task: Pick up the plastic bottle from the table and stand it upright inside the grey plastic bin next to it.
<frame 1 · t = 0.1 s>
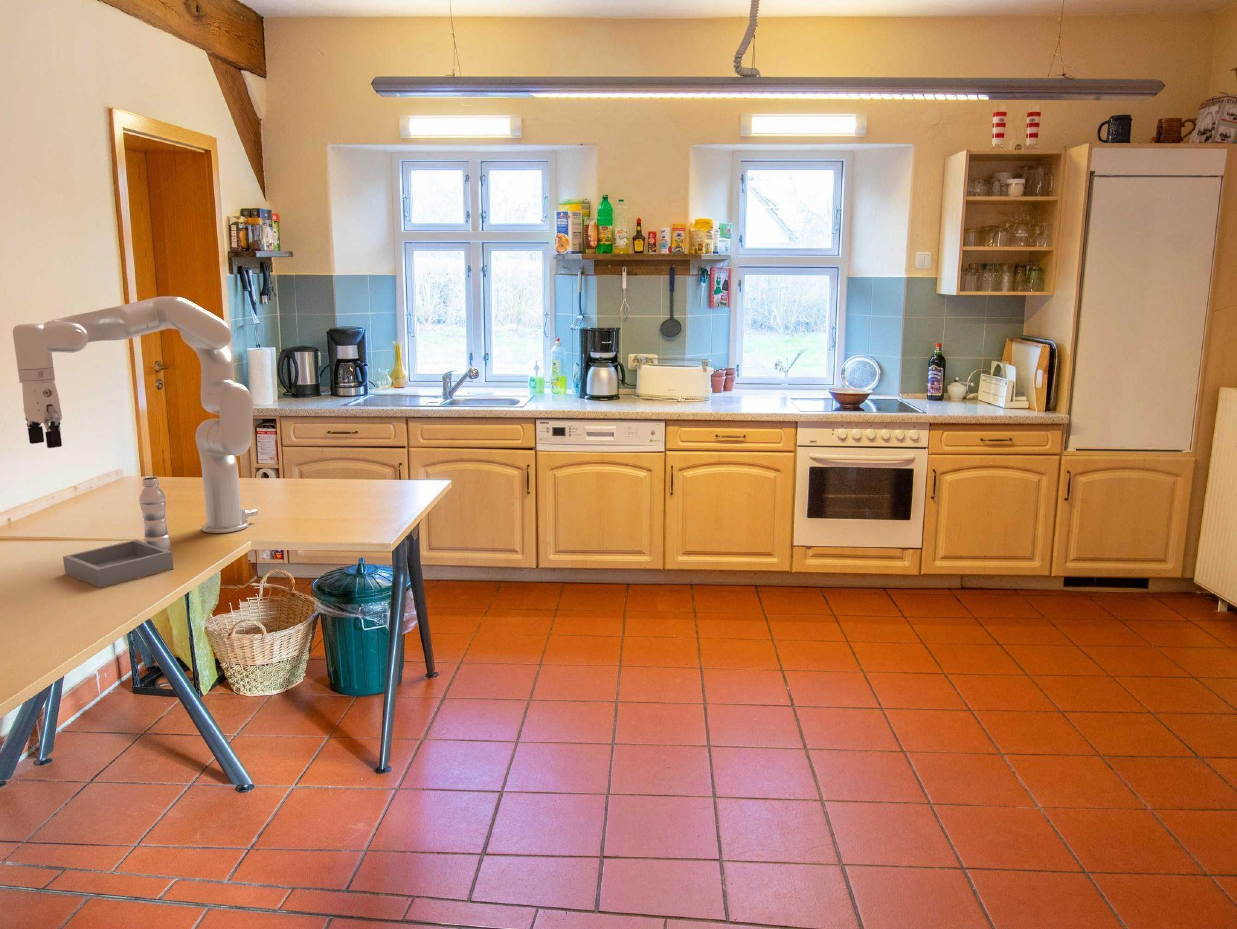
hand: (45, 445, 239), 31 cm above the table, tool pointing down, fingers open, 9 cm apart
bin: (119, 571, 241), on the table
plastic bottle: (158, 553, 257), on the table
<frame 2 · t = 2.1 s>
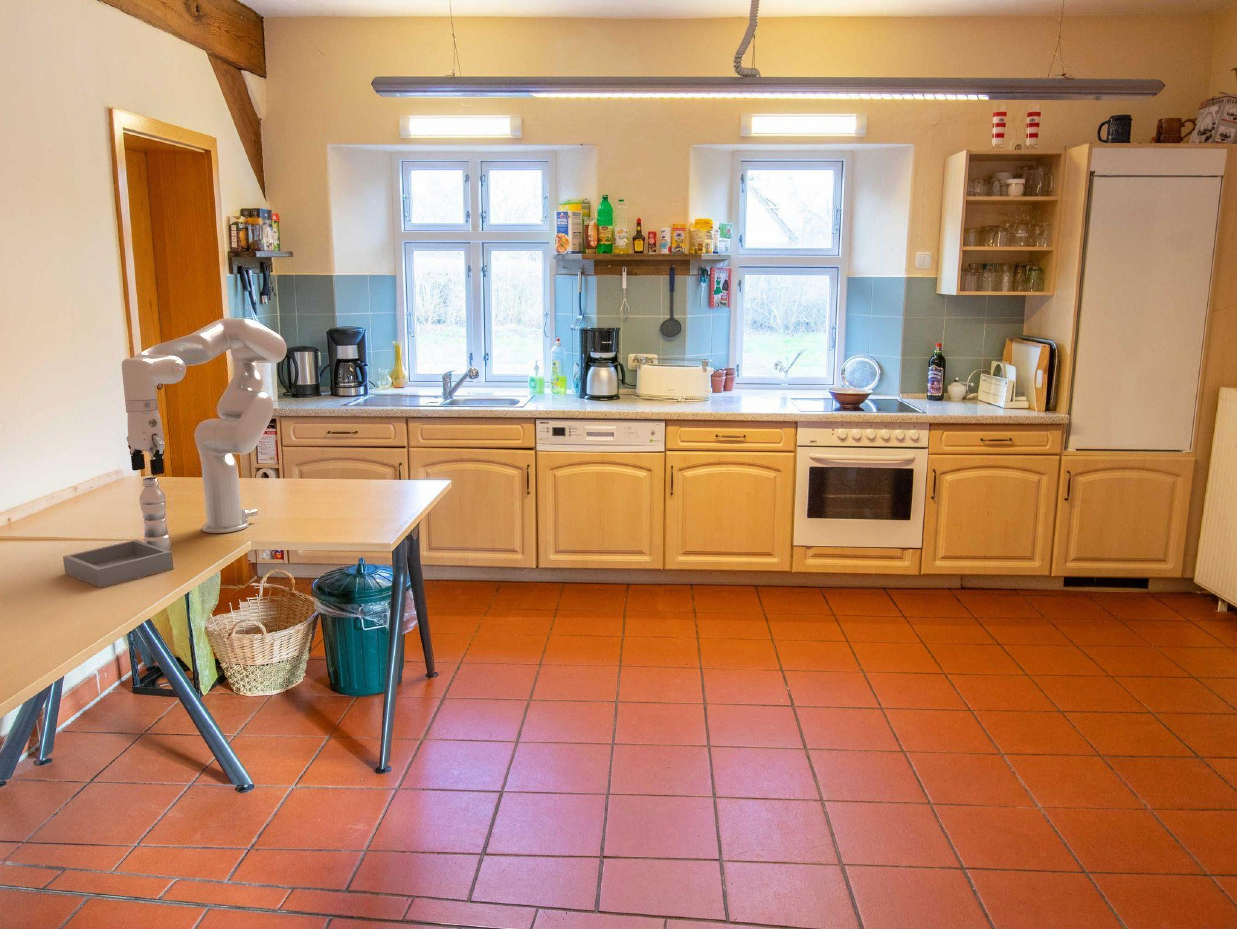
hand: (148, 471, 252), 22 cm above the table, tool pointing down, fingers open, 9 cm apart
nothing on the table moved.
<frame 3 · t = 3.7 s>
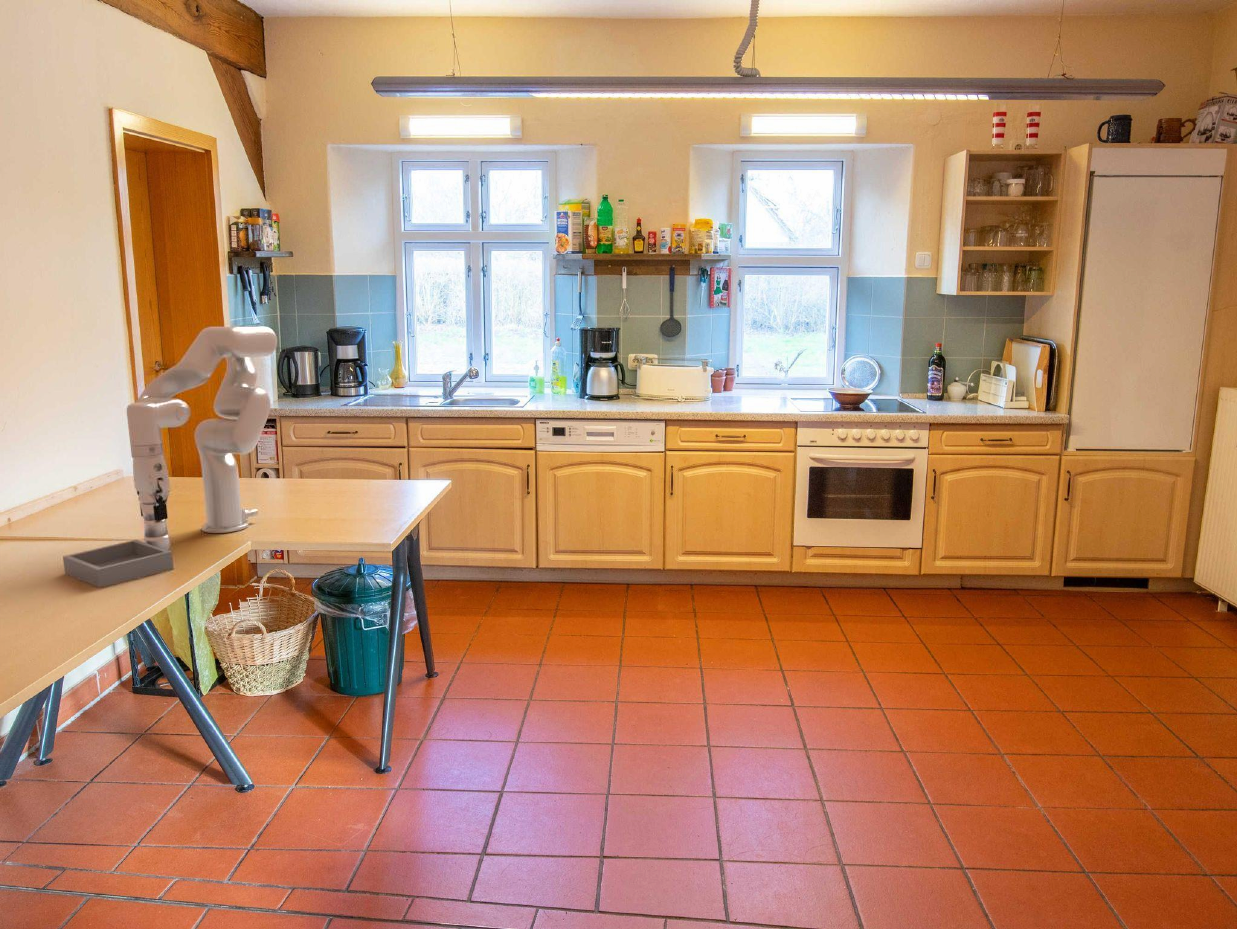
hand: (154, 517, 255), 10 cm above the table, tool pointing down, fingers closed on plastic bottle, 6 cm apart
plastic bottle: (158, 553, 257), on the table, touching gripper
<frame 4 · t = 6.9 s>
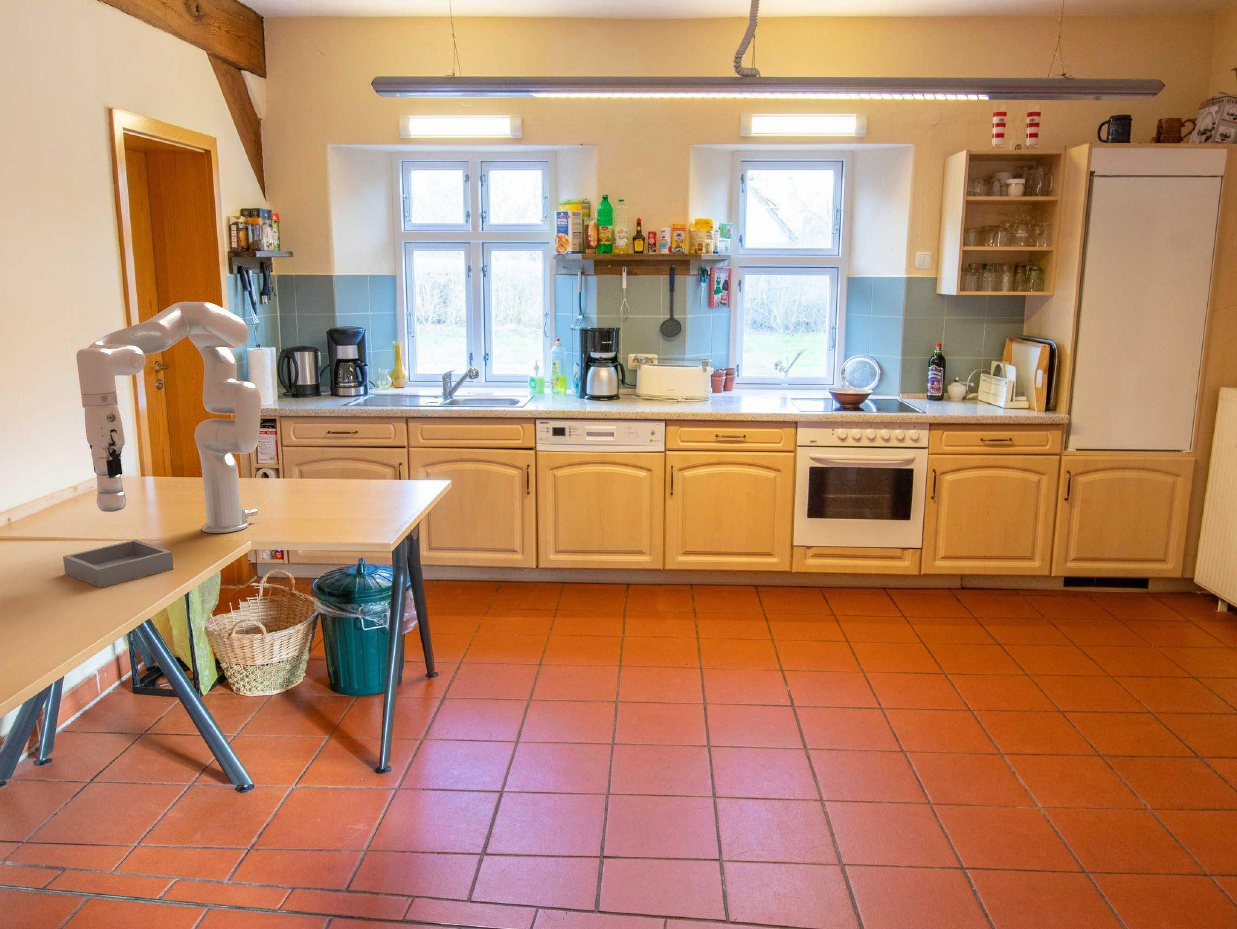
hand: (108, 472, 236), 25 cm above the table, tool pointing down, fingers closed on plastic bottle, 6 cm apart
plastic bottle: (112, 511, 238), point 15 cm above the table, touching gripper
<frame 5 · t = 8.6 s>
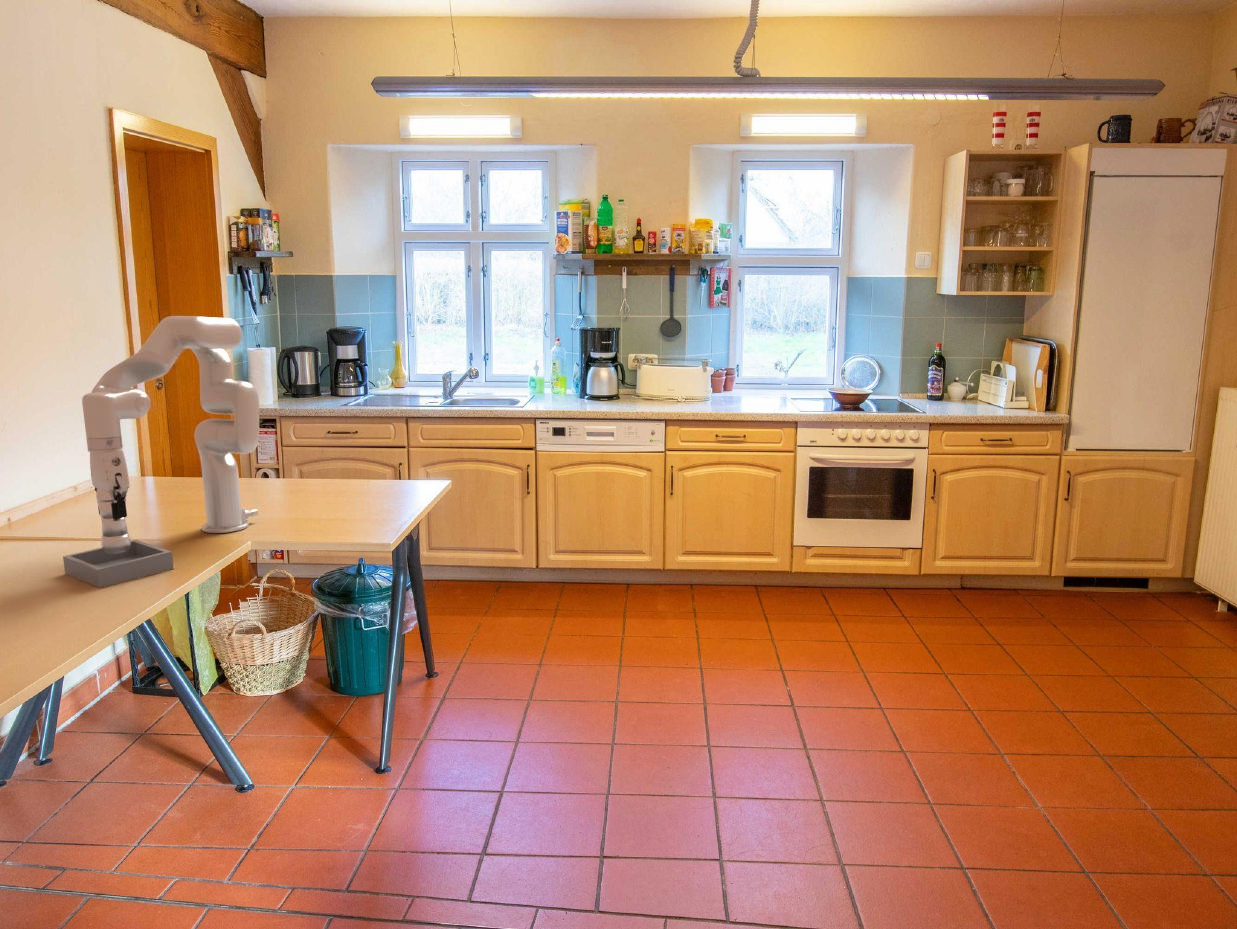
hand: (113, 515, 238), 14 cm above the table, tool pointing down, fingers closed on plastic bottle, 6 cm apart
plastic bottle: (117, 553, 240), point 5 cm above the table, touching gripper
when the fingers open (12 cm above the table, at t = 10.1 s): plastic bottle drops 1 cm, resting on bin.
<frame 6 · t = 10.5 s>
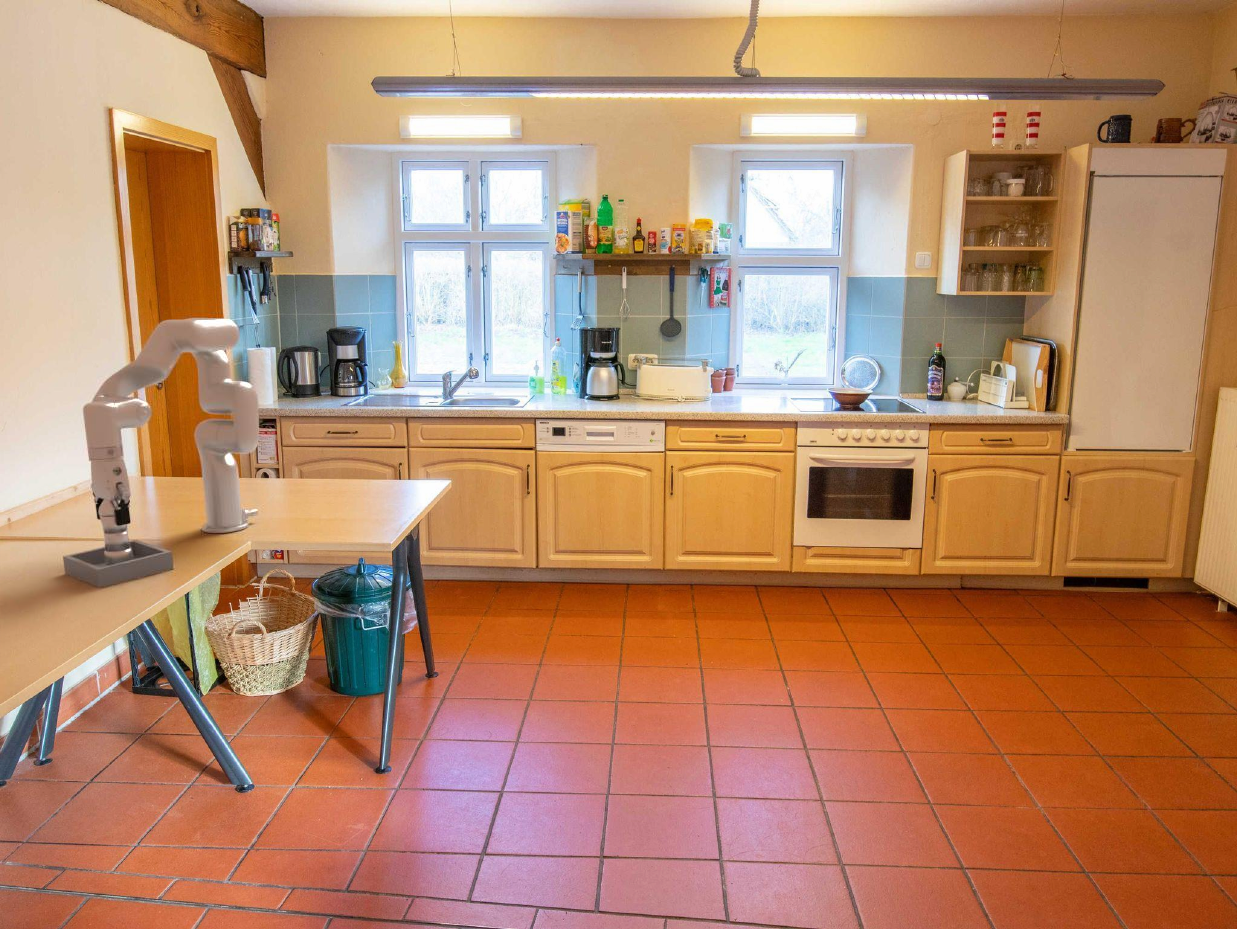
hand: (113, 521, 239), 13 cm above the table, tool pointing down, fingers open, 9 cm apart
plastic bottle: (120, 568, 241), point 1 cm above the table, touching bin
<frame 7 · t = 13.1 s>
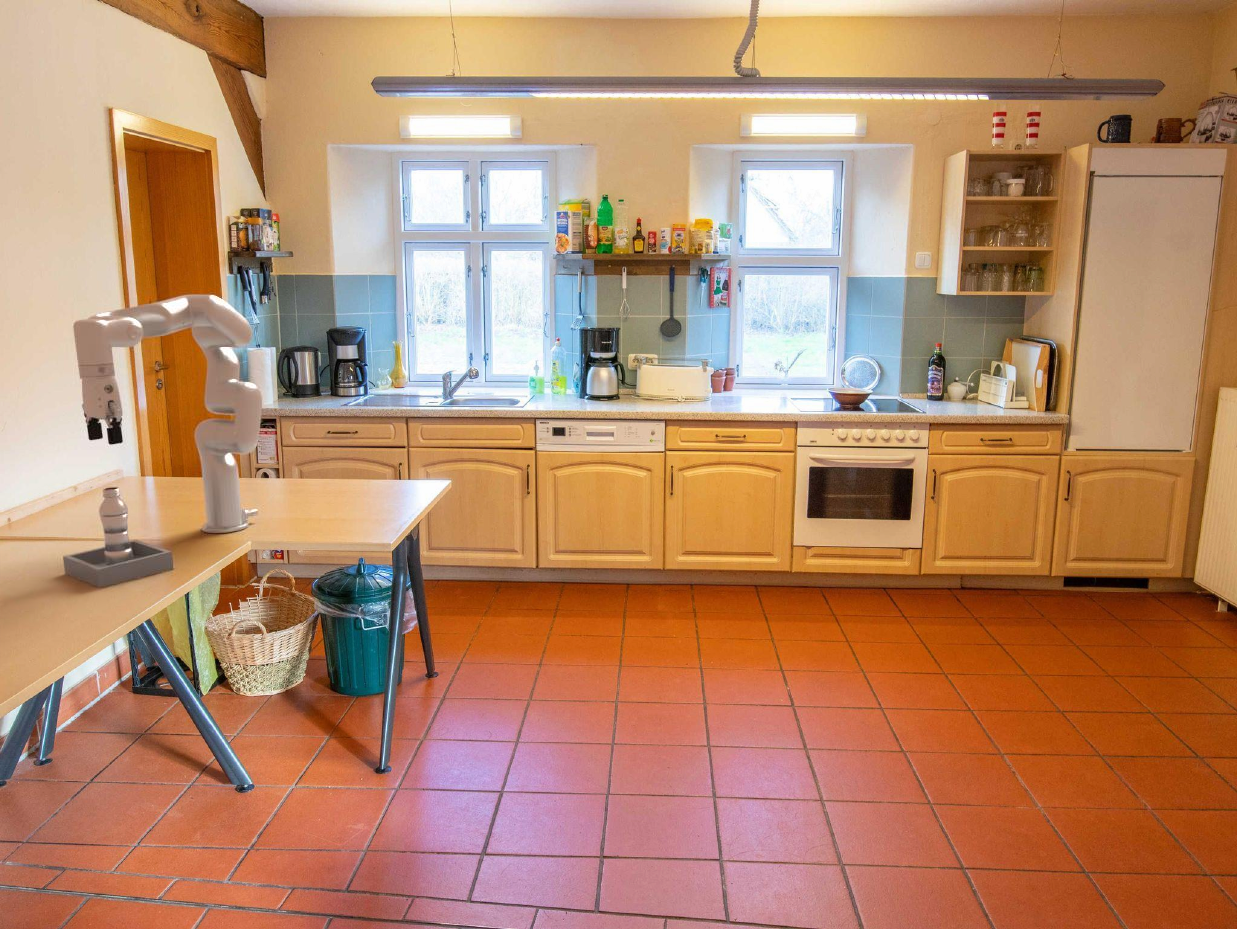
hand: (105, 441, 237), 32 cm above the table, tool pointing down, fingers open, 9 cm apart
nothing on the table moved.
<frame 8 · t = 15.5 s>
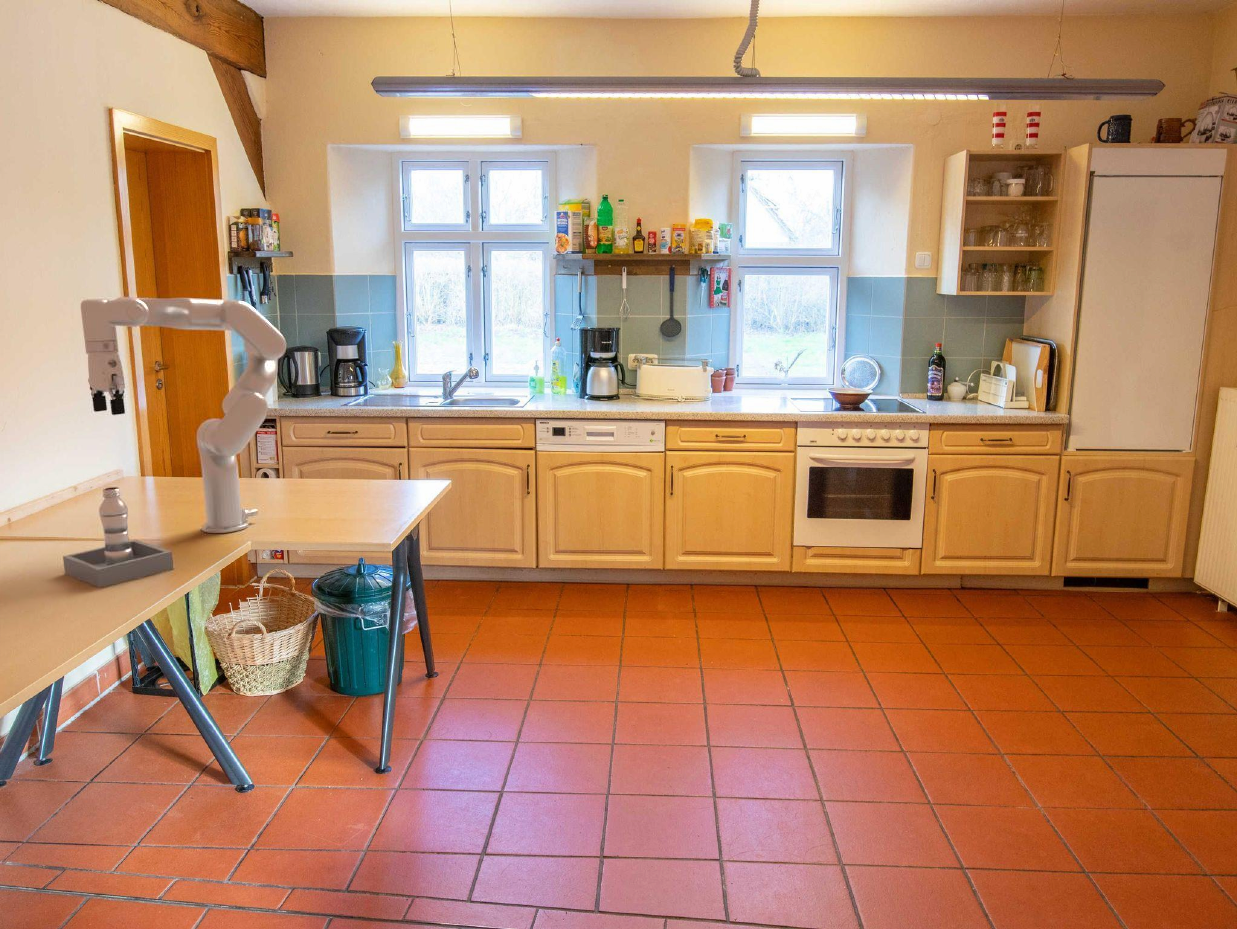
hand: (109, 412, 256), 36 cm above the table, tool pointing down, fingers open, 9 cm apart
nothing on the table moved.
at the end: plastic bottle inside the target area on the bin (0.2 cm from its centre), point 0.8 cm above the bin's base; plastic bottle tilted 0°; the gripper is holding nothing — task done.
